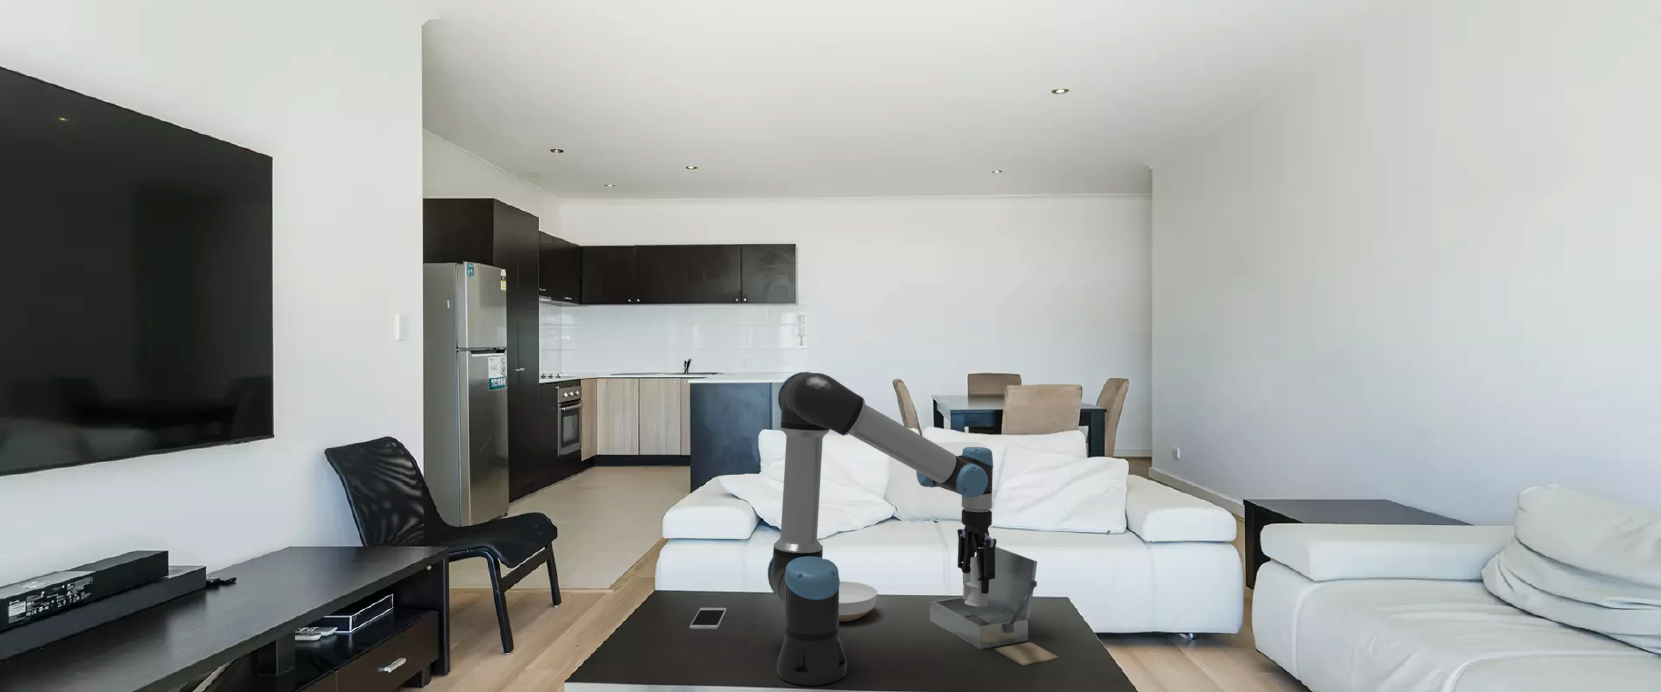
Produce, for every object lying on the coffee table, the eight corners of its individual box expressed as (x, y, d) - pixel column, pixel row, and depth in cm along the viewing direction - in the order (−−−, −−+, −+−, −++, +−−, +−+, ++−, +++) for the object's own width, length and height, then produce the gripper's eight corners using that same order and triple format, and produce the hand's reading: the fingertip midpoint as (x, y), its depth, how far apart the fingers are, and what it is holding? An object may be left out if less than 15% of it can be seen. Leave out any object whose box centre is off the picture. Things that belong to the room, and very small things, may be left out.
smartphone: (726, 610, 210) (726, 607, 210) (717, 630, 195) (717, 626, 195) (700, 610, 211) (700, 607, 211) (689, 630, 195) (689, 626, 195)
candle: (966, 599, 198) (967, 551, 198) (987, 601, 196) (988, 554, 196) (962, 605, 193) (963, 556, 193) (984, 607, 191) (984, 558, 191)
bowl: (878, 604, 215) (878, 582, 215) (875, 628, 196) (875, 604, 196) (809, 602, 217) (809, 580, 217) (799, 625, 198) (799, 601, 198)
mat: (1022, 665, 172) (1022, 663, 172) (995, 650, 181) (995, 648, 181) (1058, 658, 176) (1058, 656, 176) (1029, 643, 185) (1029, 642, 185)
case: (982, 650, 181) (982, 569, 181) (929, 620, 202) (929, 547, 202) (1040, 640, 188) (1039, 561, 188) (983, 612, 209) (983, 541, 209)
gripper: (1011, 514, 188) (1010, 611, 188) (968, 502, 205) (966, 590, 204) (986, 516, 185) (984, 614, 185) (944, 503, 202) (942, 593, 201)
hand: (975, 602), depth 194 cm, fingers closed on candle, 5 cm apart
